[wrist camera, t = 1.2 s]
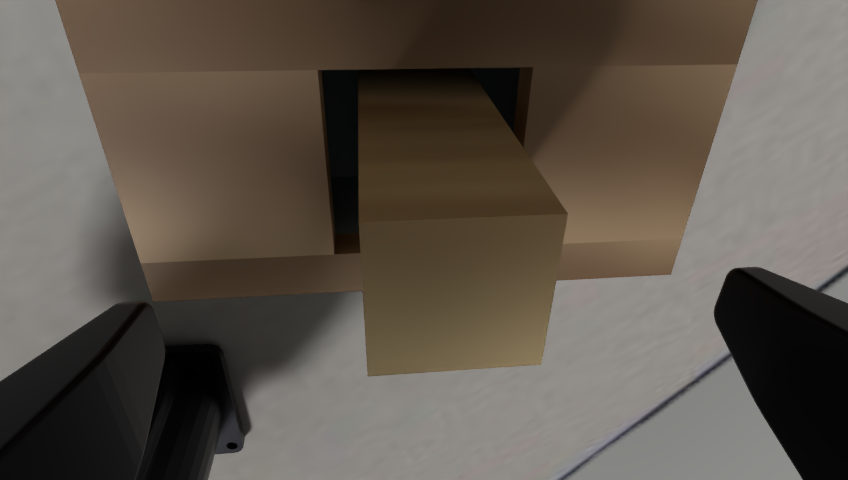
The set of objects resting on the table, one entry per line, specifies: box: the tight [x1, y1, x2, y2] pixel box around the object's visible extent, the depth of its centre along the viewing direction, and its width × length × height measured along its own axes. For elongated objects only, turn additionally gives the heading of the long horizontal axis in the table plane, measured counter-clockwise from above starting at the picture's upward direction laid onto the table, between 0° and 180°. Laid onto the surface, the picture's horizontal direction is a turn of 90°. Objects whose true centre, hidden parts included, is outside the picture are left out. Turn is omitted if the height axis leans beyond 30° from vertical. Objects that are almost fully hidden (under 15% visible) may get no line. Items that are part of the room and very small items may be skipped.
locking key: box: [358, 68, 568, 376], centre depth 13 cm, size 3×3×10 cm
